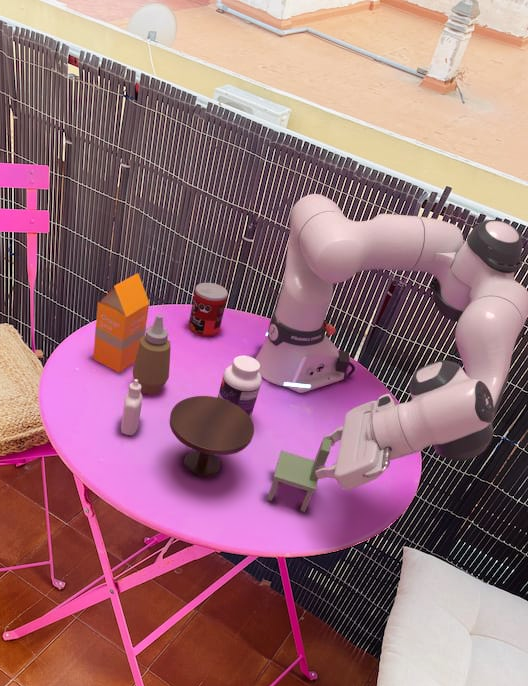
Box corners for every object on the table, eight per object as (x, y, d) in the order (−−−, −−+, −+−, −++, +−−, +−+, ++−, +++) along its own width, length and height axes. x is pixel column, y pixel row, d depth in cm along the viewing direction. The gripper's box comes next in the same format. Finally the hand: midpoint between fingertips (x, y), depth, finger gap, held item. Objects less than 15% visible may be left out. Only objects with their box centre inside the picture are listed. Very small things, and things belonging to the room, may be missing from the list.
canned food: (183, 322, 174) (190, 282, 166) (212, 320, 177) (220, 281, 169) (194, 338, 169) (202, 299, 162) (223, 336, 172) (232, 297, 164)
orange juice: (92, 358, 157) (99, 279, 143) (115, 343, 162) (124, 265, 149) (119, 373, 154) (129, 293, 140) (142, 357, 160) (153, 279, 146)
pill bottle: (207, 408, 150) (220, 353, 140) (240, 404, 152) (255, 350, 142) (222, 432, 144) (236, 376, 134) (255, 427, 147) (272, 372, 137)
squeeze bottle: (168, 380, 155) (180, 310, 143) (164, 401, 149) (177, 330, 137) (133, 373, 155) (142, 303, 142) (128, 394, 149) (137, 323, 136)
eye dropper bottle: (112, 428, 140) (118, 380, 132) (130, 416, 144) (137, 369, 135) (128, 438, 138) (135, 391, 130) (146, 426, 142) (153, 379, 134)
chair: (311, 486, 136) (333, 433, 127) (305, 513, 130) (328, 459, 121) (273, 474, 137) (291, 420, 127) (265, 500, 131) (284, 446, 122)
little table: (248, 453, 141) (261, 410, 133) (231, 504, 129) (244, 460, 122) (175, 430, 143) (183, 386, 135) (151, 478, 131) (159, 434, 123)
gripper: (397, 484, 112) (321, 506, 120) (402, 414, 127) (335, 438, 135) (380, 456, 109) (303, 481, 117) (388, 388, 124) (319, 414, 132)
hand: (320, 457), depth 126 cm, fingers open, 8 cm apart
